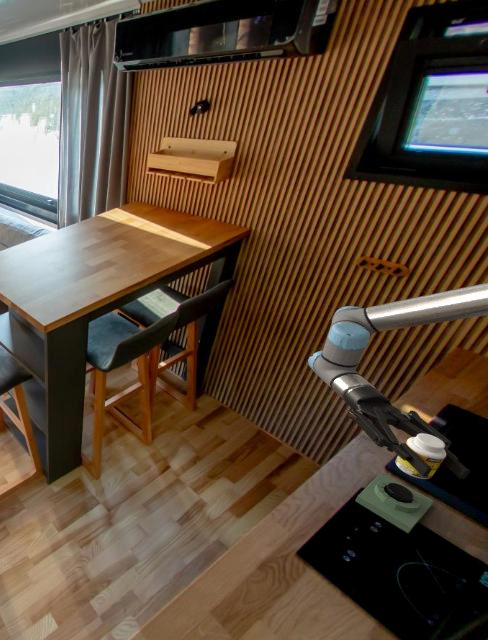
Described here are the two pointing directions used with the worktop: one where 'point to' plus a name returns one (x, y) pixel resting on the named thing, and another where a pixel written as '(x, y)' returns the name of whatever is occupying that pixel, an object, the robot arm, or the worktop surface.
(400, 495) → the button
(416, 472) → the supplement bottle
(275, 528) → the worktop surface
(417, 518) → the button box
